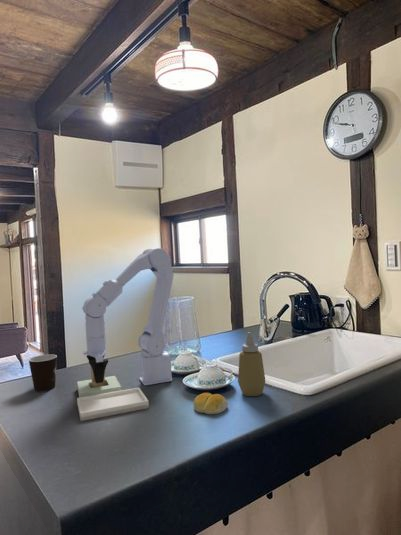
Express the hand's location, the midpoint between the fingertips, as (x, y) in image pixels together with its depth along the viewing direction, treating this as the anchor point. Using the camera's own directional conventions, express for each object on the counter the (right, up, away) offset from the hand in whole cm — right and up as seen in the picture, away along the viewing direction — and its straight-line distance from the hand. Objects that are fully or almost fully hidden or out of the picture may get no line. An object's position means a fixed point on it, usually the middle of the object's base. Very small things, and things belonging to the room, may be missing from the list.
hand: (98, 379), depth 121 cm
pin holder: (0, -4, 0) cm, 4 cm away
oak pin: (0, -4, 0) cm, 4 cm away
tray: (+7, -4, -12) cm, 15 cm away
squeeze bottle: (+47, -2, -7) cm, 48 cm away
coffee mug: (-19, -5, +8) cm, 21 cm away
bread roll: (+35, -3, -16) cm, 39 cm away
